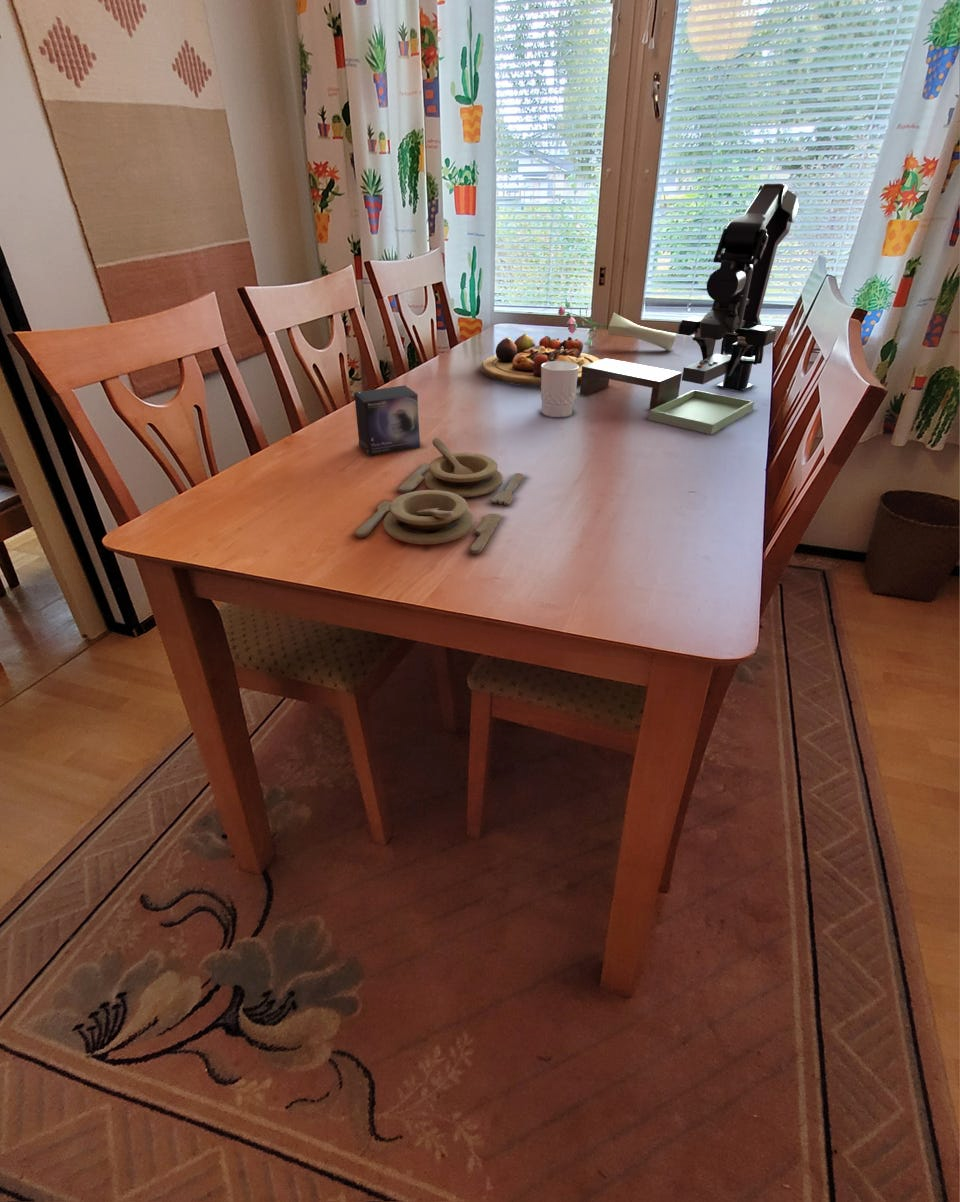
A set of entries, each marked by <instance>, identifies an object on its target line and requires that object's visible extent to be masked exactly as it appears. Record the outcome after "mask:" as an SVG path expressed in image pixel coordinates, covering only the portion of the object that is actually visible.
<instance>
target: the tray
mask: <svg viewBox="0 0 960 1202" xmlns="http://www.w3.org/2000/svg"><path fill="white" fill-rule="evenodd" d="M754 405H755V401H753V400H749V399H745V398H744V399H743V398H739V397H733V396H729V395H723V394H719V393H713V392H708V391H704V390H699V389H692V390H689V391H688V392H686V393H683V394H682V395H678V397H677V398H675V399H673V400H671V401H669V402H666V403H664V404H662V405H660V406H658V407H656V408H654V409H652V410H650V411H649V412H648V420H649V421H652V422H657V423H662V424H666V425H670V426H674V427H677V428H678V427H679V428H681V429H682V428H683V429H687V430H690V431H695V432H700V433H703V434H707V435H713V434H715V433H717V432H718V431H720V430H723V428H725V427H727V426H729V425H730V424H732V423H734V422H736V421H737V420H738V419H740V418H742V417H744V416H746V415H747V414H749V413H750V412H752V411H754V410H753V409H754Z"/></svg>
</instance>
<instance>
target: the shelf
mask: <svg viewBox="0 0 960 1202" xmlns="http://www.w3.org/2000/svg"><path fill="white" fill-rule="evenodd" d="M682 375H683V371H682V372H681V371H677V370H671V369H666V368H660V367H656V366H649V365H645V364H638V363H634V362H628V361H624V360H617V359H612V358H608V357H607V358H606V357H605V358H602V359H600V360H599V361H596V362H593V363H590V364H587V365H584V366H582V374H581V383H580V386H579V387H580V389H579V396H584V397H586V396H588V395H591V394H594V393H596V392H598V391H601V390H603V389H606V388H609V383H610V380H612V381H618V382H621V383H622V382H623V383H626V384H627V383H628V384H631V385H637V386H641V387H645V388H651V392H650V393H651V395H650V401H649V409H648V411H649V412H650V410H652V409H654V408H656V407H658V406H660V405H662V404H664V403H666V402H669V401H671V400H673V399H675V398H677V397H679V393H680V387H681V381H682Z"/></svg>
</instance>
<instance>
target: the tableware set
mask: <svg viewBox="0 0 960 1202" xmlns="http://www.w3.org/2000/svg"><path fill="white" fill-rule="evenodd" d="M432 445H433V447H434V448H435V449H436V450H437V451H438V452H439V454H441V456H438V457H436V458H434V459H433V460H431V461H430V462H423V463H422V464H420V465H419V467H418V468H417V469H416V470H415V471H414V472H413V473H412V474H411V475H410V476H408V477H407V479H406V480H404V482H403V483H402V484H401V485H400V486H399V487H398V488H397V492H398V493H401V494H400V495H399V496H397V497H395V498H394V499H393V500H391V501H389V500H384V501H382V502H380V504H378V506H376V512H375V513H374V514H373V515H372V516H370V517H369V518H368V519H367V520H366V521H365V522H363V524H362V525H360V526H359V527H358V528H357V529H355V531H354V533H355V534H354V535H355V537H357V538H366V537H367V536H368V535H369V534H370V533H371V532H372V531H373V530H374V529H375V528H376V525H378V523H380V521H382V519H383V528H384V530H385V531H386V533H387V534H388V535H390V536H391V537H393V538H394V539H396V540H398V541H401V542H405V543H409V544H416V545H437V544H445V543H448V542H453V541H455V540H458V539H460V538H462V537H463V536H464V535H467V534H468V533H469V532H470V531H471V529H472V528H473V525H474V516H473V515H472V512H470V511H469V510H468V506H469V505H468V502H467V500H466V499H465V498H469V497H478V496H483V495H487V494H489V493H491V492H494V491H496V490H497V489H498V488H500V486H501V485H502V484H503V481H504V478H503V475H502V473H501V472H500V471H499V470H498V463H497V461H495V459H493V458H492V457H489V456H488V455H485V454H481V453H476V452H455V453H453V452H452V451H451V450H450V449H449V448H448V446H447V445H446V444H445V443H444V441H443V440H441V438H437V437H436V438H433V439H432ZM427 471H428V472H427ZM426 472H427V473H426ZM425 473H426V475H425ZM423 475H425V476H423ZM524 478H525V475H524V473H520V472H517V473H515V474H514V475H513V476H512V477H511V478H510V481H509V482H508V483H507V485H506V487H505V489H504V490H503V491H501V492H498V493H496V494H495V495H494V496H493V498H492V499H491V500H490V501H491V503H492V504H499V505H502V504H503V505H504V506H509V505H510V504H511V503H512V501H513V500H514V495H513V494H512V493H513V492H514V491H515V490H516V489H517V488H518V486H520V484H521V483H522V482H523V480H524ZM423 481H424V484H425V485H426V487H427V488H428V489H422V490H415V489H416V488H417V487H418V486H419V485H420V484H421V483H422V482H423ZM413 490H414V491H413ZM501 517H502V515H501V514H500V513H490V514H487V515H486V516H484V517H483V519H481V521H480V522H479V524H478V525H477V527H476V528H475V530H474V532H475V534H476V535H477V536H478V537H477V538H476V540H474V542H473V543H472V544H471V546H470V553H471V554H473V555H479V554H481V553H482V552H483V550H484V548H485V546H486V545H487V543H488V541H489V539H490V538H491V536H492V533H493V532H494V531H495V529H496V527H497V525H498V524H499V523H500V521H501Z"/></svg>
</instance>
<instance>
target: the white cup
mask: <svg viewBox="0 0 960 1202" xmlns="http://www.w3.org/2000/svg"><path fill="white" fill-rule="evenodd" d="M578 369H579V366H578V365H577V364H575V363H572V362H566V361H551V362H546V363H543V364H542V365H541V386H540V398H541V413H542V415H544V416H547V417H550V418H565V417H570V416H571V415H572V414H573V411H574V403H575V400H576V393H577V385H578V384H577V377H578Z"/></svg>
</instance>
